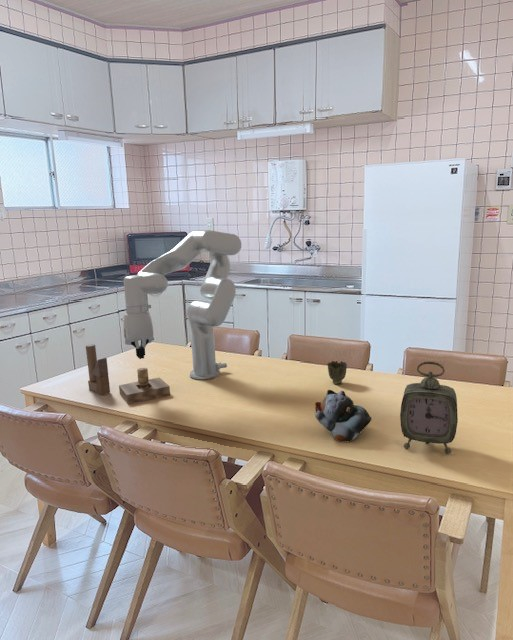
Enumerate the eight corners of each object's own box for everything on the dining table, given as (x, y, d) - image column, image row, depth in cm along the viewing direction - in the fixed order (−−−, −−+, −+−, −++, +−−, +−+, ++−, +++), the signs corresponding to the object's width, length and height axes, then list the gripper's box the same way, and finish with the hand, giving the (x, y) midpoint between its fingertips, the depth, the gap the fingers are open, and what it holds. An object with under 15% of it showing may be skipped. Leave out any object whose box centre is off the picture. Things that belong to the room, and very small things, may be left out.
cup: (325, 385, 187) (325, 365, 185) (330, 379, 194) (329, 360, 192) (344, 387, 184) (344, 367, 183) (348, 381, 191) (348, 361, 189)
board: (160, 385, 194) (159, 377, 193) (170, 394, 183) (169, 386, 183) (119, 394, 186) (118, 385, 186) (127, 404, 176) (126, 394, 175)
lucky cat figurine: (347, 447, 138) (323, 404, 137) (323, 447, 148) (300, 408, 148) (380, 418, 145) (357, 378, 145) (354, 420, 156) (333, 383, 155)
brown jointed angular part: (102, 395, 186) (96, 350, 182) (88, 389, 193) (83, 345, 189) (110, 392, 188) (105, 347, 184) (97, 386, 196) (92, 343, 192)
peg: (148, 391, 188) (145, 367, 185) (151, 394, 184) (148, 369, 182) (138, 394, 186) (136, 368, 184) (141, 397, 182) (138, 371, 180)
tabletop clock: (399, 450, 135) (401, 364, 130) (401, 436, 143) (404, 354, 138) (455, 458, 130) (460, 368, 124) (455, 443, 138) (459, 358, 133)
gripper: (153, 305, 184) (157, 352, 188) (113, 310, 178) (118, 358, 181) (159, 308, 178) (163, 356, 182) (118, 313, 171) (123, 363, 175)
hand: (141, 357), depth 182 cm, fingers closed
